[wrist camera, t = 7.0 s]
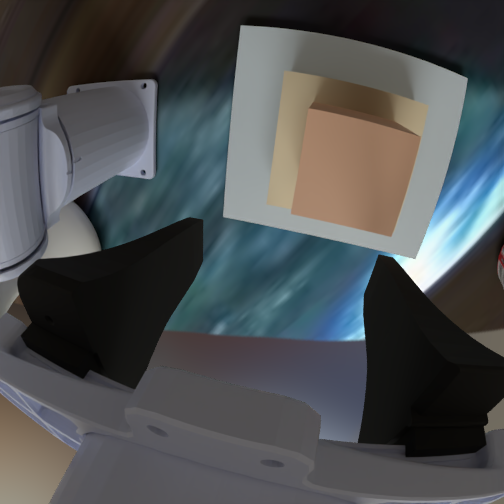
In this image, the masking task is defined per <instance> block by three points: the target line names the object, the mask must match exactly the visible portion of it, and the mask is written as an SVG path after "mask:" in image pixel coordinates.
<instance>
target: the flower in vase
mask: <svg viewBox="0 0 504 504" xmlns="http://www.w3.org/2000/svg"><path fill="white" fill-rule="evenodd" d="M59 217H60V221H59V222H57V223H56V224H55V225H53V226H52V227H50V228H49V229H48V230H47V233H48V245H47V248H46V251H45V253H44V254H43V256H42V257H41V259H45V258H60V257H69V256H77V255H82V254H88V253H93V252H97V251H101V245H100V242H99V239H98V236H97V233H96V231H95V229H94V227H93V225H92V223H91V222H90V220H89V219H88V217H87V216H86V214H85V213H84V212H83V211H82V209H81V208H80V207H79V206H78V205H77V204H76V203H75V202H73V201H71V202H70V203H68V204H67V205H65V206H64V207H62V208H61V210H60V215H59ZM18 277H19V276H18ZM18 277H16V278H14V279H11V280H8V281H4V282H0V318H1V317H2V316H3V315H4V314H5V313H7V311H8V309H9V307H10V306H11V304H12V303H13V301H14V300H15V299H16V297H17V296H18V295H19V292H18V287H17V280H18Z"/></svg>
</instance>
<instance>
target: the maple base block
mask: <svg viewBox="0 0 504 504" xmlns="http://www.w3.org/2000/svg"><path fill="white" fill-rule="evenodd" d="M313 102H317V103H322V104H327V105H332V106H337V107H341V108H345V109H350V110H354V111H358V112H362V113H366V114H370V115H374V116H377V117H381V118H385V119H388V120H391V121H395V122H397V123H398V124H400V125H402V126H403V127H405V128H407V129H409V130H410V131H412V132H414V133H415V134H417V135H418V136H420V137H421V138H422V134H423V130H424V125H425V121H426V116H427V111H428V106H429V105H426V104H423V103H420V102H417V101H415V100H411V99H408V98H405V97H402V96H399V95H396V94H392V93H389V92H385V91H382V90H378V89H374V88H371V87H367V86H363V85H359V84H355V83H350V82H346V81H341V80H337V79H332V78H327V77H321V76H316V75H310V74H304V73H298V72H291V71H284V77H283V84H282V92H281V100H280V107H279V115H278V122H277V130H276V137H275V145H274V152H273V160H272V167H271V174H270V182H269V189H268V196H267V203H266V204H267V205H272V206H277V207H282V208H287V209H292V203H293V198H294V192H295V187H296V181H297V175H298V169H299V163H300V158H301V152H302V146H303V140H304V133H305V127H306V121H307V114H308V108H309V107H310V106H311V104H312V103H313ZM420 143H421V140H420ZM419 147H420V144H419ZM418 151H419V148H418ZM417 155H418V152H417ZM416 158H417V156H416ZM415 162H416V159H415ZM414 166H415V163H414ZM413 170H414V167H413ZM413 170H412V173H413ZM411 177H412V174H411ZM411 177H410V180H411ZM409 184H410V181H409ZM409 184H408V187H409ZM407 190H408V188H407ZM406 194H407V191H406ZM406 194H405V197H406ZM404 200H405V198H404ZM403 203H404V201H403ZM402 207H403V204H402ZM402 207H401V210H402ZM401 210H400V213H401ZM400 213H399V216H400ZM399 216H398V219H399ZM398 219H397V222H398ZM397 222H396V225H397ZM396 225H395V228H396ZM395 228H394V230H395ZM393 233H394V231H393Z"/></svg>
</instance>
